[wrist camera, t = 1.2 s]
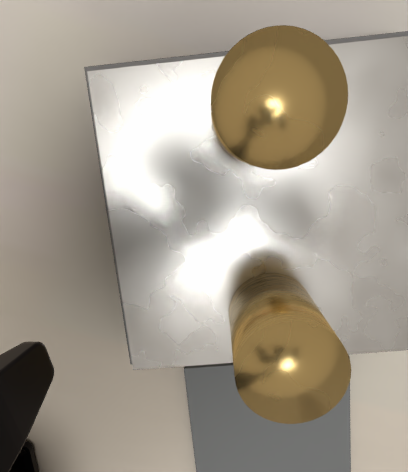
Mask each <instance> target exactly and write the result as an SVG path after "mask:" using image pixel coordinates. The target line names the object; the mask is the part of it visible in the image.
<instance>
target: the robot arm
mask: <svg viewBox="0 0 408 472" xmlns="http://www.w3.org/2000/svg"><path fill="white" fill-rule="evenodd" d="M53 376H54V368H53V365H52V362H51V360H50V357H49V355H48V352H47V350H46V347H45V345H44V344H43V343H41V342H24V343H22V344H20V345H18V346H16V347H14V348H12V349H11V350H9V351H7V352H5V353H3V354H1V355H0V472H39V471H38V467H37V463H36V458H35V454H34V450H33V446H32V444H30V443H29V442H26V439H27V436H28V434H29V432H30V430H31V428H32V425H33V423H34V421H35V418H36V416H37V414H38V412H39V409H40V407H41V405H42V402H43V400H44V398H45V396H46V393H47V391H48V389H49V386H50V384H51V382H52V380H53ZM23 449H24V450H26V451H24V450H23Z"/></svg>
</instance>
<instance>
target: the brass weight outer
mask: <svg viewBox="0 0 408 472" xmlns="http://www.w3.org/2000/svg"><path fill="white" fill-rule="evenodd" d="M347 104H348V84H347V79H346V74H345V71H344V69H343V66H342V64H341V62H340V60H339V58H338V56H337V55H336V53H335V52H334V50H333V49H332V48H331V47H330V46H329V45H328V44H327V43H326V42H325V41H324V40H323V39H321V38H320V37H319V36H317V35H315V34H314V33H312V32H310V31H307V30H305V29H302V28H298V27H294V26H285V25H283V26H272V27H266V28H263V29H260V30H257V31H255V32H253V33H251V34H249V35H247V36H246V37H244V38H243V39H241V40H240V41H239V42H238V43H237V44H236V45H234V46H233V47H232V49H231V50H230V51H229V52H228V53H227V54H226V56H225V57H224V59H223V60H222V62H221V64H220V66H219V68H218V70H217V72H216V75H215V78H214V81H213V85H212V91H211V118H212V127H213V131H214V134H215V136H216V139H217V141H218V142H219V144H220V145H221V147H222V148H223V149H224V150H225V151H226V152H227V153H228V154H229V155H230V156H232V157H233V158H235V159H237V160H239V161H241V162H244V163H247V164H250V165H253V166H255V167H259V168H263V169H270V170H284V169H290V168H294V167H297V166H300V165H302V164H305V163H307V162H309V161H310V160H312V159H314V158H315V157H317V156H318V155H319V154H320V153H322V152H323V151H324V150H325V149H326V148H327V147H328V146H329V145H330V143H331V142H332V141H333V139H334V138H335V137H336V135H337V133H338V132H339V130H340V128H341V125H342V123H343V121H344V117H345V114H346V110H347Z"/></svg>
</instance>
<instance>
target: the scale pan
mask: <svg viewBox="0 0 408 472" xmlns="http://www.w3.org/2000/svg"><path fill="white" fill-rule="evenodd" d="M329 46H330V47H331V48H332V49H333V50H334V52H335V53H336V55H337V56H338V58H339V60H340V62H341V64H342V66H343V69H344V71H345V74H346V79H347V84H348V104H347V110H346V114H345V117H344V121H343V123H342V125H341V128H340V130H339V132H338V133H337V135H336V137H335V138H334V139H333V141H332V142H331V143H330V145H329V146H328V147H327V148H326V149H325V150H324V151H323V152H322V153H320V154H319V155H318V156H317V157H315V158H314V159H312V160H310V161H309V162H307V163H305V164H302V165H300V166H297V167H294V168H290V169H284V170H270V169H263V168H259V167H255V166H253V165H250V164H247V163H244V162H241V161H239V160H237V159H235V158H233V157H232V156H230V155H229V154H228V153H227V152H226V151H225V150H224V149H223V148H222V147H221V145H220V144H219V142H218V141H217V139H216V136H215V134H214V131H213V127H212V118H211V91H212V85H213V81H214V78H215V75H216V72H217V70H218V68H219V66H220V64H221V62H222V60H223V59H224V57H225V56H222V57H213V58H204V59H195V60H185V61H176V62H167V63H158V64H149V65H140V66H131V67H122V68H113V69H104V70H95V71H87V74H88V81H89V87H90V94H91V100H92V107H93V113H94V120H95V126H96V133H97V139H98V146H99V152H100V158H101V165H102V171H103V178H104V184H105V191H106V197H107V204H108V210H109V217H110V223H111V230H112V236H113V243H114V249H115V255H116V262H117V268H118V275H119V281H120V288H121V294H122V301H123V307H124V314H125V320H126V327H127V333H128V340H129V346H130V353H131V359H132V365H133V370H140V369H154V368H167V367H181V366H195V365H209V364H222V363H233V355H232V345H231V334H230V324H229V305H230V302H231V299H232V297H233V295H234V293H235V291H236V290H237V289H238V288H239V287H240V286H241V285H242V284H243V283H244V282H245V281H247V280H248V279H250V278H252V277H254V276H257V275H260V274H265V273H279V274H284V275H287V276H289V277H292V278H293V279H295V280H297V281H298V282H299V283H300V284H301V285H302V286H303V287H304V288H305V289H306V290H307V292H308V293H309V295H310V296H311V298H312V299H313V301H314V302H315V304H316V305H317V307H318V308H319V310H320V311H321V313H322V314H323V316H324V317H325V319H326V320H327V322H328V323H329V325H330V326H331V328H332V329H333V331H334V332H335V334H336V335H337V336H338V338H339V339H340V341H341V342H342V344H343V346H344V347H345V349H346V351H347V353H348V354H360V353H374V352H387V351H401V350H408V36H403V37H394V38H385V39H376V40H367V41H358V42H349V43H340V44H331V45H329Z"/></svg>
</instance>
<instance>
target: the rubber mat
mask: <svg viewBox="0 0 408 472" xmlns="http://www.w3.org/2000/svg"><path fill="white" fill-rule="evenodd" d="M348 356H349V355H348ZM184 373H185V381H186V389H187V398H188V406H189V414H190V423H191V431H192V439H193V447H194V456H195V464H196V472H351V454H350V382H349V385H348V388H347V390H346V392H345V394H344V396H343V397H342V399H341V400H340V402H339V403H338V404H337V405H336V406H335V407H334V408H333V409H331V410H330V411H329V412H328V413H326V414H324V415H323V416H321V417H319V418H317V419H314V420H312V421H308V422H304V423H298V424H283V423H277V422H273V421H270V420H267V419H265V418H263V417H261V416H259V415H258V414H256V413H254V412H253V411H252V410H251V409H250V408H249V407H248V406H247V405H246V404H245V403H244V401H243V400H242V398H241V397H240V395H239V393H238V390H237V387H236V383H235V376H234V366H233V363H222V364H209V365H195V366H184Z"/></svg>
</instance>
